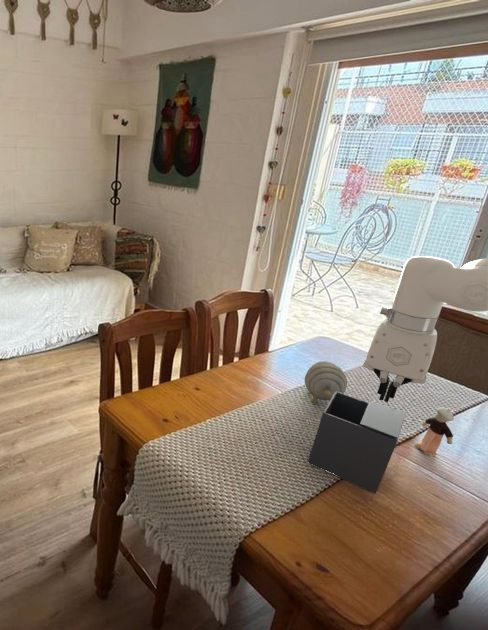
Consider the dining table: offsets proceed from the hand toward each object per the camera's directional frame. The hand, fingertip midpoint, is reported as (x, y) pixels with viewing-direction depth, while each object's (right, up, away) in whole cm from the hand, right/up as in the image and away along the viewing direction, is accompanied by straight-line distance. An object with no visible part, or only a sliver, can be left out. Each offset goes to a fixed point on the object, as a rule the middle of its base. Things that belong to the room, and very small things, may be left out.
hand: (384, 398), depth 93 cm
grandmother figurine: (+21, -16, +14) cm, 30 cm away
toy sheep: (+6, -7, +34) cm, 36 cm away
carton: (-2, -17, +9) cm, 20 cm away
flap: (+1, -5, +1) cm, 5 cm away
